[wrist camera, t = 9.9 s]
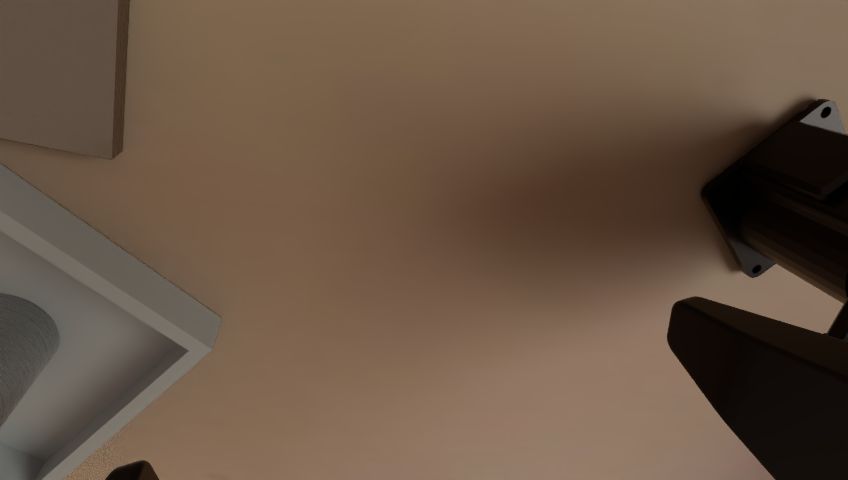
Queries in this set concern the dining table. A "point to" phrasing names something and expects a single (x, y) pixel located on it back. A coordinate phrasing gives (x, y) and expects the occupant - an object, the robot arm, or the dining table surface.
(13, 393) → the orange capped tube
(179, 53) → the dining table surface
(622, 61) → the dining table surface
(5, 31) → the plate
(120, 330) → the tray
